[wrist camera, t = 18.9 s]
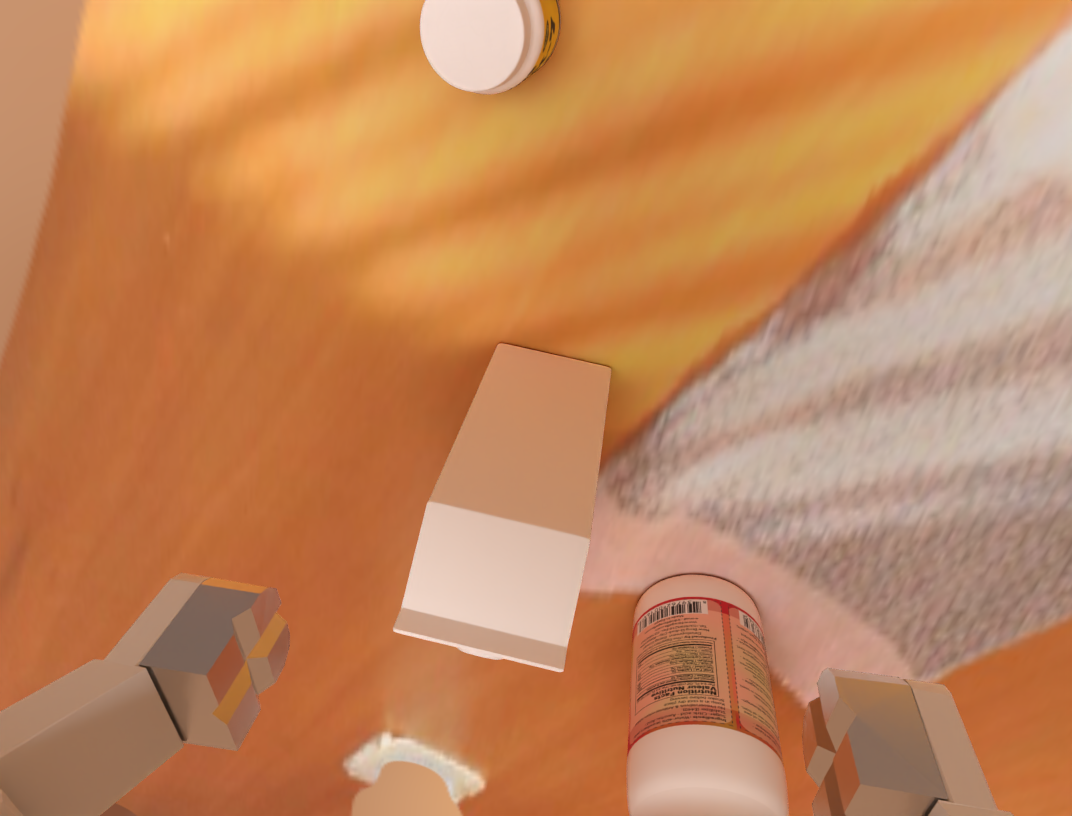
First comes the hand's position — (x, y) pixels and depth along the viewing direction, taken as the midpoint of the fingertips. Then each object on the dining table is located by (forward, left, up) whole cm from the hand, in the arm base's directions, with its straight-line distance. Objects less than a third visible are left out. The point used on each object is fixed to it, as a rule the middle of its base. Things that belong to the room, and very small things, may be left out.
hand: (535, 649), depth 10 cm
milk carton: (+4, +15, -30) cm, 33 cm away
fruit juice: (-8, +33, -30) cm, 45 cm away
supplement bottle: (+6, -6, -30) cm, 31 cm away
